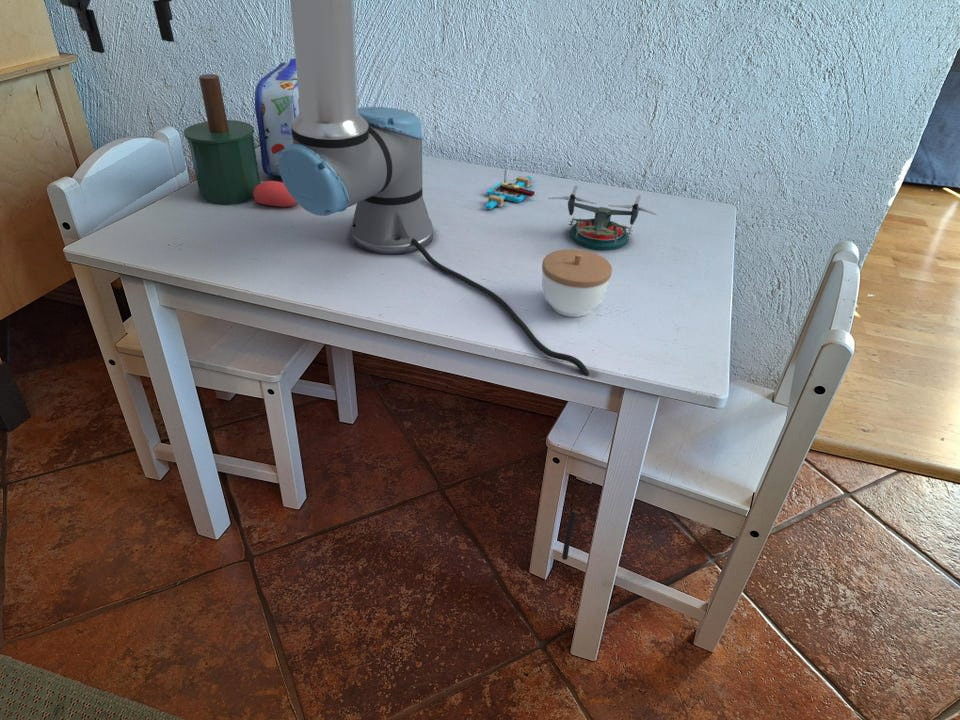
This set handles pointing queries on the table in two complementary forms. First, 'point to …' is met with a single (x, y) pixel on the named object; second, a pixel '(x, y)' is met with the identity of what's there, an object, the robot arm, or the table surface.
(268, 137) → the lunch box
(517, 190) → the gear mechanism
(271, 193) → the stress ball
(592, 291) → the trinket box
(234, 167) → the canister
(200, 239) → the table surface
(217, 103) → the canister lid
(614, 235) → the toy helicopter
